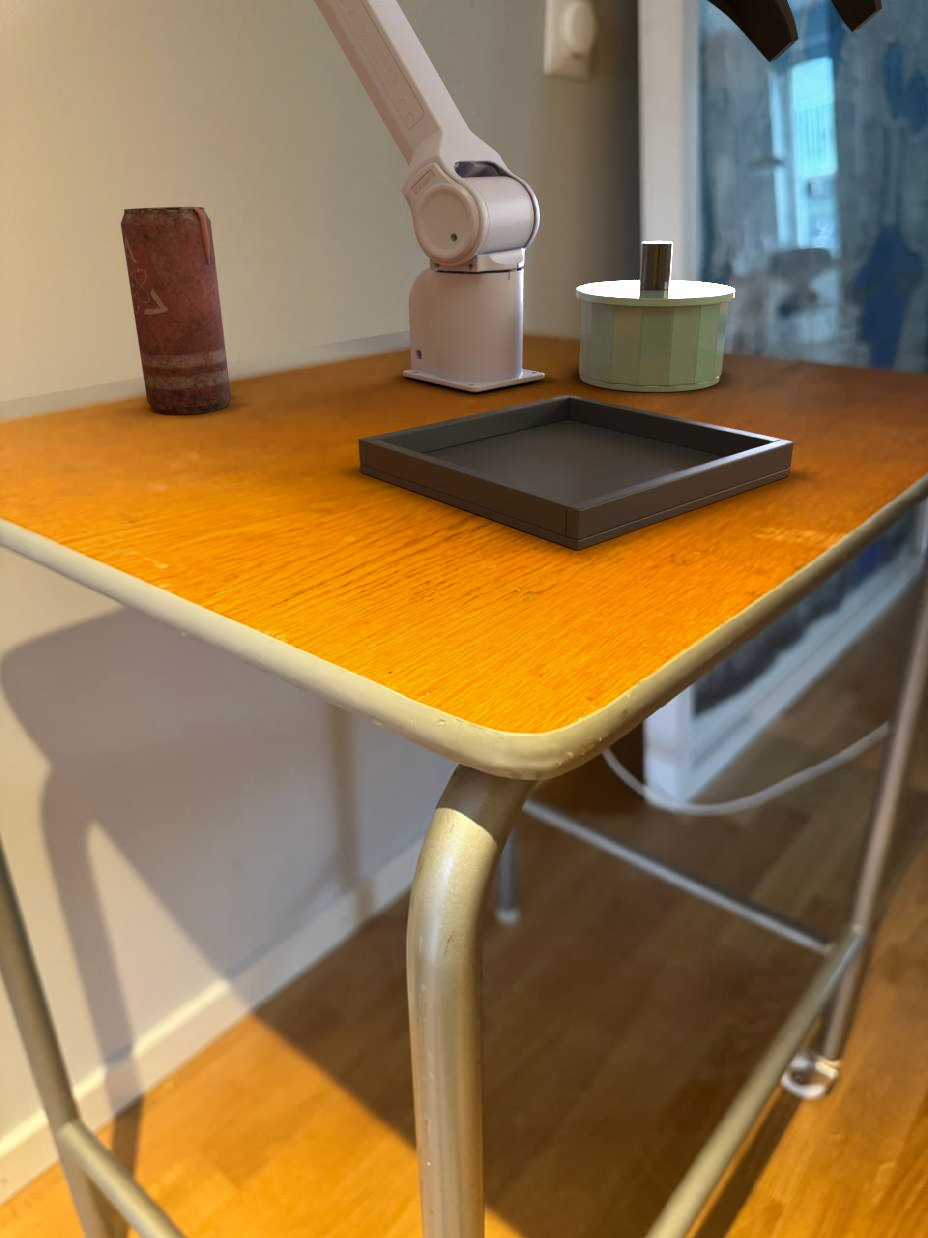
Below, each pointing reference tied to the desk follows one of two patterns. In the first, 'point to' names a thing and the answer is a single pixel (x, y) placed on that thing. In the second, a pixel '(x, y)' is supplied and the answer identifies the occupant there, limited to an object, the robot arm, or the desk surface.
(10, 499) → the desk surface
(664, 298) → the lid
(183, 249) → the can
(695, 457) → the tray
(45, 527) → the desk surface
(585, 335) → the pot
